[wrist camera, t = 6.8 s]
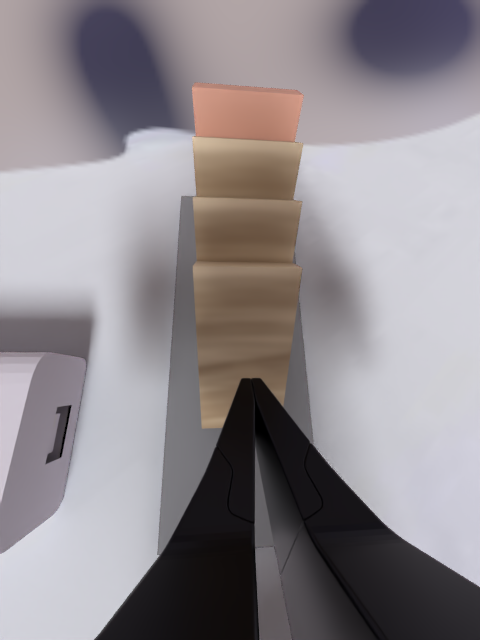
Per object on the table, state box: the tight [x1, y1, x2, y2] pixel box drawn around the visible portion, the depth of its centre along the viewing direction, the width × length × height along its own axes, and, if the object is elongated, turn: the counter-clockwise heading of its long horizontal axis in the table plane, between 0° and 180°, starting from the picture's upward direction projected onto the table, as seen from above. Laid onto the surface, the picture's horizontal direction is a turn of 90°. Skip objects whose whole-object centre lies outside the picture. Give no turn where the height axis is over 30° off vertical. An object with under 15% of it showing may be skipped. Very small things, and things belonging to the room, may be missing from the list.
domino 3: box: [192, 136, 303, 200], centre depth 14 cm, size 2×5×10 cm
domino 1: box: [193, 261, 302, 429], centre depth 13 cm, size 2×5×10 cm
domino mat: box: [157, 196, 313, 555], centre depth 17 cm, size 26×10×1 cm, turn 1°
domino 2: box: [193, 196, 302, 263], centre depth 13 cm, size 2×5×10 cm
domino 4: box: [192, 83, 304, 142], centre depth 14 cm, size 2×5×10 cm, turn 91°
